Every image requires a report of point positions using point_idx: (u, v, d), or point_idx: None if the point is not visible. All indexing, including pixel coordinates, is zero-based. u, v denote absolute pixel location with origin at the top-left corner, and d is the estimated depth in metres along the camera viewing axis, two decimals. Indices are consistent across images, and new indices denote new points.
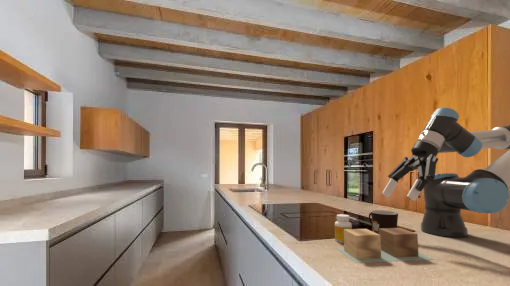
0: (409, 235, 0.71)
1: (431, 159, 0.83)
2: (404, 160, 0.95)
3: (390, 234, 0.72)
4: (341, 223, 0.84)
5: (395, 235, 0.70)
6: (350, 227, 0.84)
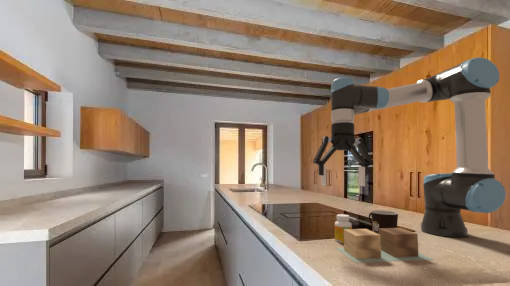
0: (409, 235, 0.71)
1: (322, 142, 0.88)
2: None
3: (390, 234, 0.72)
4: (341, 223, 0.84)
5: (395, 235, 0.70)
6: (350, 227, 0.84)
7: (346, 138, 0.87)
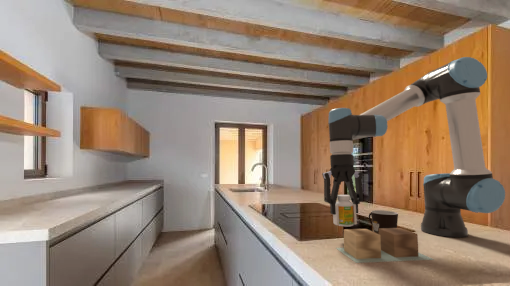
0: (409, 235, 0.71)
1: (324, 178, 0.87)
2: None
3: (390, 234, 0.72)
4: (342, 203, 0.85)
5: (395, 235, 0.70)
6: (351, 206, 0.84)
7: (347, 167, 0.86)
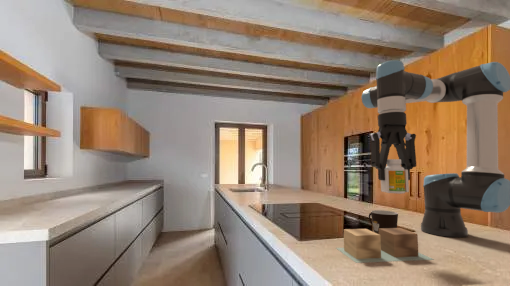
0: (409, 235, 0.71)
1: (371, 140, 0.77)
2: None
3: (390, 234, 0.72)
4: (392, 167, 0.74)
5: (395, 235, 0.70)
6: (403, 171, 0.74)
7: (398, 127, 0.76)
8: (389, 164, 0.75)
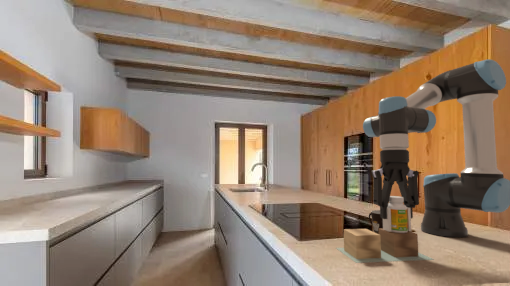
0: (409, 235, 0.71)
1: (373, 177, 0.75)
2: (408, 175, 0.77)
3: (390, 234, 0.72)
4: (395, 205, 0.73)
5: (395, 235, 0.70)
6: (406, 210, 0.73)
7: (400, 164, 0.75)
8: (391, 202, 0.74)
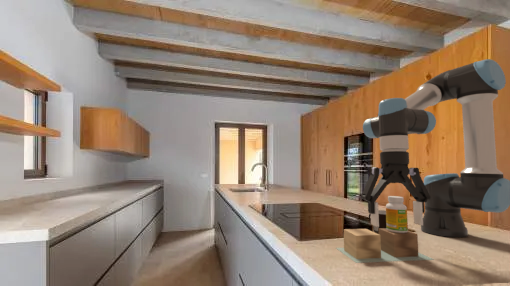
0: (409, 235, 0.71)
1: (371, 173, 0.75)
2: (409, 173, 0.78)
3: (390, 234, 0.72)
4: (395, 205, 0.73)
5: (395, 235, 0.70)
6: (406, 210, 0.73)
7: (399, 169, 0.75)
8: (391, 202, 0.74)
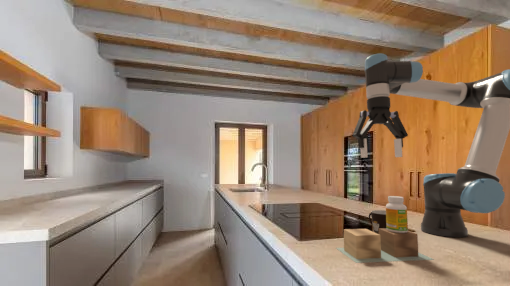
0: (409, 235, 0.71)
1: (360, 116, 0.92)
2: None
3: (390, 234, 0.72)
4: (395, 205, 0.73)
5: (395, 235, 0.70)
6: (406, 210, 0.73)
7: (383, 112, 0.91)
8: (391, 202, 0.74)
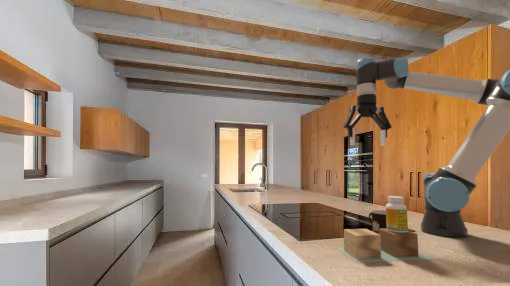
0: (409, 235, 0.71)
1: (350, 110, 1.09)
2: (377, 111, 1.11)
3: (390, 234, 0.72)
4: (395, 205, 0.73)
5: (395, 235, 0.70)
6: (406, 210, 0.73)
7: (370, 107, 1.08)
8: (391, 202, 0.74)
